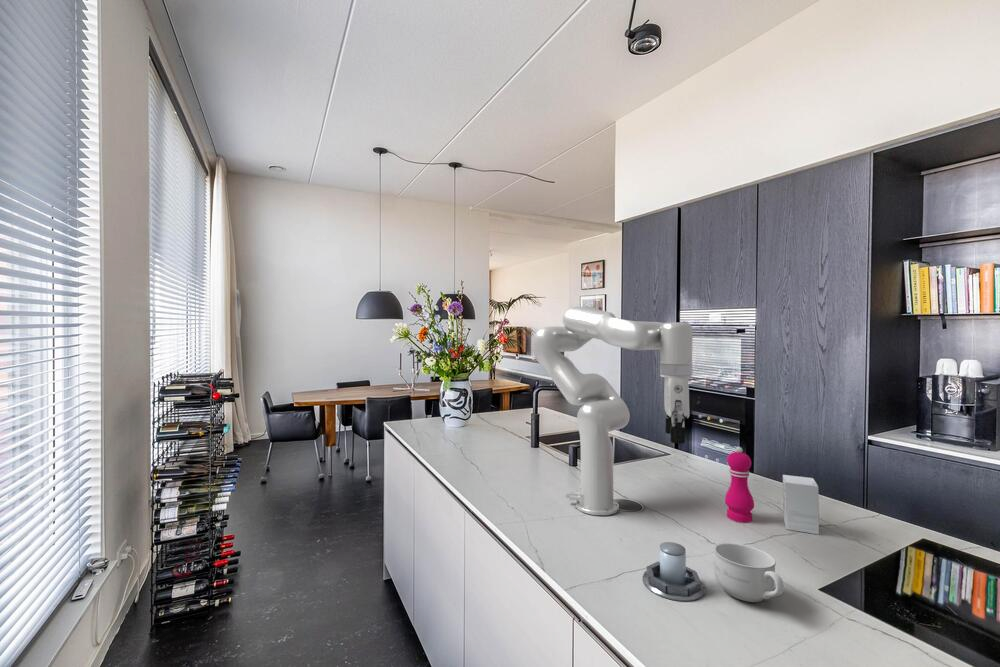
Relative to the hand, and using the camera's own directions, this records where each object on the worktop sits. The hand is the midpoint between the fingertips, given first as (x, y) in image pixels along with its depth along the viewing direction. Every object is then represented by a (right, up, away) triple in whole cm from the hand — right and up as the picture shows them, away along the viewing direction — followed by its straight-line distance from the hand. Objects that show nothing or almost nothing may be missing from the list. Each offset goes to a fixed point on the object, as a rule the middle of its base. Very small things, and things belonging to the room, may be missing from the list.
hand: (674, 438), depth 112 cm
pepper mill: (+23, -25, +11) cm, 36 cm away
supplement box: (+36, -25, +6) cm, 44 cm away
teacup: (+5, -26, -26) cm, 36 cm away
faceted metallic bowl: (-9, -25, -21) cm, 34 cm away
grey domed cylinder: (-8, -25, -21) cm, 33 cm away
